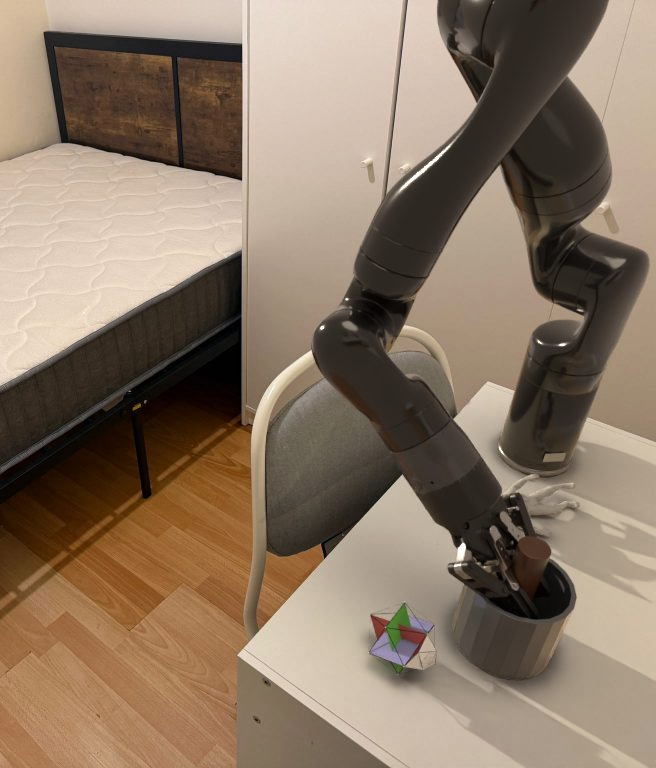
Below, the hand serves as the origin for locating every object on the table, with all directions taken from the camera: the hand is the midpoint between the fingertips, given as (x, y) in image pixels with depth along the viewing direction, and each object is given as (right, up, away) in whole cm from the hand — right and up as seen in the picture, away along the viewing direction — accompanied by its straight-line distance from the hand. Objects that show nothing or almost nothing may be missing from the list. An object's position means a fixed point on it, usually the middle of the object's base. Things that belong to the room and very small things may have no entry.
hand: (536, 605), depth 75 cm
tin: (-1, -5, +6) cm, 8 cm away
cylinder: (-1, -4, +5) cm, 7 cm away
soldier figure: (+10, +6, +20) cm, 23 cm away
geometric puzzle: (-13, -7, +5) cm, 15 cm away
